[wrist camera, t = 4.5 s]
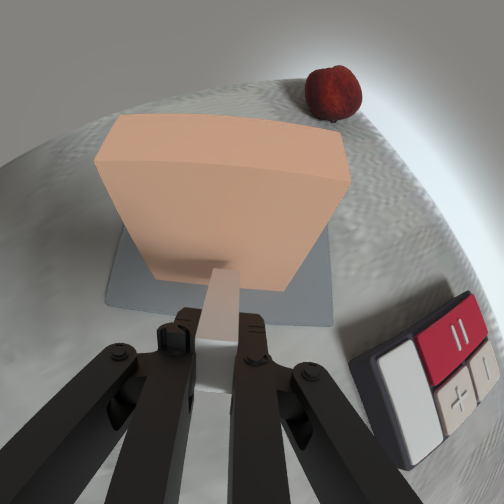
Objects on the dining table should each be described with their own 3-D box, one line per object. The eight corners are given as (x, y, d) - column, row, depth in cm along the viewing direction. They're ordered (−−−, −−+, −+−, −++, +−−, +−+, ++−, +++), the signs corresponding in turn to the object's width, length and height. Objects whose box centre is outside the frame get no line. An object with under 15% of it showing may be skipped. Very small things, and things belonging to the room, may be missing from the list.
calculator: (504, 377, 17) (413, 475, 12) (476, 383, 20) (383, 466, 16) (474, 285, 21) (373, 355, 17) (448, 300, 25) (345, 362, 20)
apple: (337, 102, 36) (353, 59, 29) (361, 135, 33) (383, 89, 26) (292, 100, 35) (304, 52, 27) (313, 134, 31) (331, 81, 24)
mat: (108, 305, 20) (104, 302, 19) (158, 140, 29) (157, 135, 28) (329, 326, 21) (333, 324, 21) (316, 154, 30) (318, 149, 29)
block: (155, 279, 21) (93, 160, 9) (162, 244, 22) (120, 114, 11) (283, 291, 21) (351, 182, 10) (284, 255, 23) (339, 131, 11)
